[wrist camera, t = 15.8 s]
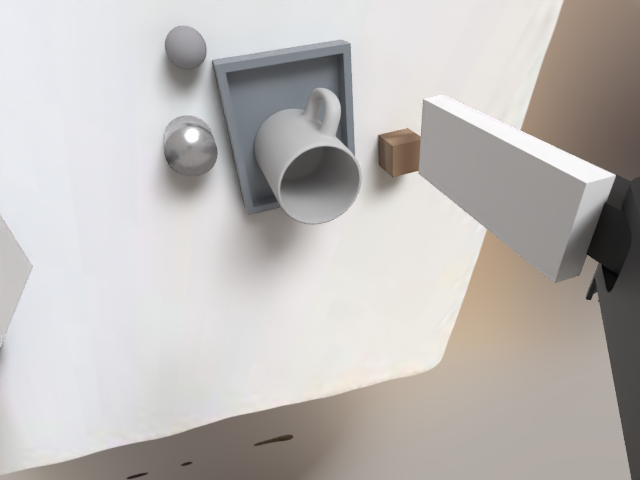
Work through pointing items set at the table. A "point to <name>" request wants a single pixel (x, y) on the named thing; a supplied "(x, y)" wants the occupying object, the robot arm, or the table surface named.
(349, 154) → the mug
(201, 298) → the table surface
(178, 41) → the rubber ball
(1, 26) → the table surface
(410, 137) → the walnut block
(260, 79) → the tray
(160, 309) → the table surface
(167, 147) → the chrome bearing sphere
